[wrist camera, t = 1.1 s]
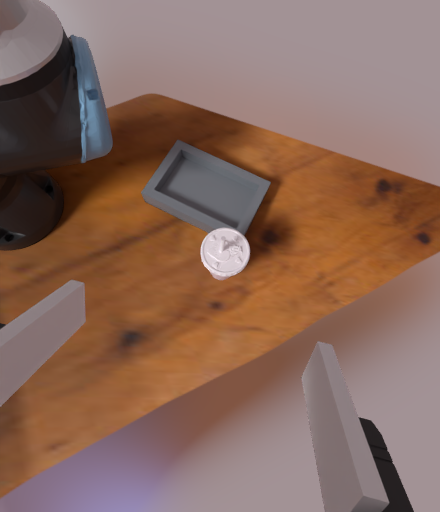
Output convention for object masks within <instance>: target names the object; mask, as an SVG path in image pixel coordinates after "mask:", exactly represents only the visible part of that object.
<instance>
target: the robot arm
mask: <svg viewBox="0 0 440 512" xmlns="http://www.w3.org/2000/svg"><path fill="white" fill-rule="evenodd" d="M112 146H113V140H112V134H111V129H110V124H109V120H108V115H107V111H106V107H105V103H104V98H103V94H102V91H101V87H100V83H99V79H98V75H97V71H96V67H95V64H94V60H93V57H92V54H91V51H90V49H89V46H88V43H87V41H86V40H85V39H84V38H82V37H76V36H74V35H71V36H70V37H69V38H67V36H66V34H65V32H64V29H63V27H62V25H61V22H60V21H59V19H58V17H57V15H56V14H55V12H54V11H53V10H52V9H51V8H50V7H49V6H47V5H46V4H44V3H43V2H41V1H39V0H0V250H16V249H21V248H24V247H27V246H30V245H32V244H34V243H36V242H38V241H39V240H41V239H42V238H44V237H45V236H46V235H47V234H48V233H49V232H50V231H51V230H52V229H53V228H54V227H55V225H56V224H57V222H58V220H59V219H60V216H61V214H62V210H63V204H64V199H63V193H62V190H61V188H60V186H59V184H58V183H57V182H56V181H55V180H54V179H53V178H52V177H51V176H50V175H49V174H48V173H47V172H46V171H45V170H46V169H51V168H57V167H62V166H67V165H73V164H78V163H85V162H86V161H88V160H92V159H95V158H99V157H103V156H105V155H107V154H108V153H109V152H110V151H111V149H112ZM84 323H85V291H84V283H82V282H78V281H74V280H70V281H69V282H67V283H66V284H65V285H63V286H62V287H60V288H59V289H57V290H56V291H54V292H53V293H52V294H50V295H49V296H47V297H46V298H44V299H43V300H42V301H40V302H39V303H37V304H36V305H34V306H33V307H32V308H30V309H29V310H27V311H26V312H24V313H23V314H21V315H20V316H19V317H17V318H16V319H14V320H13V321H11V322H10V323H9V324H7V325H5V324H1V323H0V406H1V405H2V404H3V403H4V402H6V401H7V400H8V399H9V398H10V397H11V396H12V395H13V394H14V393H15V392H16V391H17V390H18V389H19V388H20V387H21V386H22V385H23V384H24V383H25V382H26V381H27V380H28V379H29V378H30V377H31V376H32V375H33V374H34V373H35V372H36V371H37V370H38V369H39V368H40V367H41V366H42V365H43V364H44V363H45V362H46V361H47V360H48V359H49V358H50V357H51V356H52V355H53V354H54V353H55V352H56V351H57V350H58V349H59V348H60V347H61V346H62V345H63V344H64V343H65V342H66V341H67V340H68V339H69V338H70V337H71V336H72V335H73V334H74V333H75V332H76V331H77V330H78V329H79V328H80V327H81V326H82V325H83V324H84ZM301 379H302V385H303V390H304V396H305V402H306V407H307V413H308V419H309V424H310V430H311V436H312V441H313V447H314V452H315V458H316V464H317V470H318V475H319V481H320V486H321V492H322V498H323V503H324V509H325V512H414V511H413V508H412V506H411V504H410V501H409V499H408V497H407V494H406V492H405V489H404V487H403V485H402V483H401V480H400V478H399V475H398V473H397V470H396V468H395V466H394V464H393V463H392V462H393V461H392V459H391V456H390V454H389V452H388V451H387V447H386V444H385V442H384V440H383V437H382V435H381V434H380V432H379V431H378V429H377V428H376V427H375V425H374V424H373V423H372V421H370V420H367V419H363V418H359V417H358V415H357V412H356V409H355V407H354V404H353V401H352V399H351V396H350V393H349V390H348V387H347V385H346V382H345V379H344V376H343V373H342V371H341V369H340V365H339V362H338V360H337V357H336V355H335V351H334V349H333V346H332V345H331V344H327V343H323V342H319V341H318V342H317V344H316V347H315V349H314V351H313V353H312V355H311V357H310V360H309V362H308V364H307V366H306V368H305V371H304V373H303V375H302V377H301Z"/></svg>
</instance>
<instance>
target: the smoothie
mask: <svg viewBox="0 0 440 512" xmlns="http://www.w3.org/2000/svg"><path fill="white" fill-rule="evenodd" d="M249 257H250V246H249V243H248V241H247V239H246V238H245V237H244V236H243V235H242V234H241V233H240V232H238V231H237V230H234V229H231V228H219V229H216V230H213V231H212V232H210V233H209V234H208V235H207V236H206V237H205V238H204V240H203V242H202V245H201V258H202V262H203V263H204V265H205V267H206V268H207V269H208V270H209V271H210V272H211V274H212V276H213V277H214V278H216V279H218V280H225V279H227V278H229V277H230V276H232V275H235V274H237V273H239V272H241V271H242V270H243V269H244V268H245V266H246V265H247V263H248V260H249Z"/></svg>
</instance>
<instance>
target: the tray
mask: <svg viewBox="0 0 440 512" xmlns="http://www.w3.org/2000/svg"><path fill="white" fill-rule="evenodd" d="M270 184H271V182H269V181H267V180H265V179H263V178H261V177H258V176H256V175H254V174H252V173H250V172H247V171H245V170H243V169H241V168H239V167H237V166H234V165H232V164H230V163H228V162H226V161H223V160H221V159H219V158H217V157H215V156H213V155H210V154H208V153H206V152H204V151H202V150H199V149H197V148H195V147H193V146H191V145H189V144H186V143H184V142H182V141H180V140H177V141H176V143H175V144H174V146H173V147H172V149H171V150H170V151H169V153H168V154H167V156H166V157H165V159H164V160H163V162H162V163H161V164H160V166H159V167H158V169H157V170H156V172H155V173H154V175H153V176H152V178H151V179H150V180H149V182H148V183H147V185H146V186H145V188H144V189H143V191H142V192H141V194H142V196H143V198H144V200H145V202H147V203H149V204H151V205H153V206H155V207H157V208H159V209H161V210H163V211H165V212H167V213H169V214H171V215H173V216H175V217H177V218H179V219H181V220H183V221H185V222H188V223H190V224H192V225H194V226H196V227H198V228H200V229H202V230H204V231H206V232H208V233H210V232H212V231H213V230H216V229H219V228H231V229H234V230H237V231H238V232H240V233H241V234H242V235H243V236H245V234H246V232H247V230H248V228H249V226H250V224H251V222H252V220H253V218H254V216H255V214H256V212H257V210H258V208H259V207H260V205H261V203H262V201H263V199H264V197H265V195H266V193H267V191H268V188H269V186H270Z"/></svg>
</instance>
